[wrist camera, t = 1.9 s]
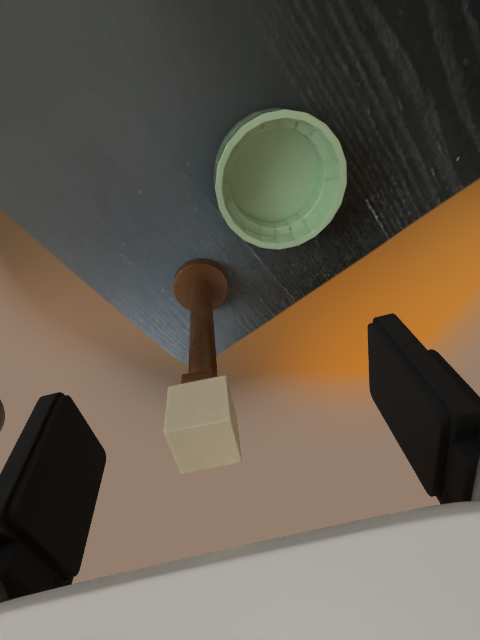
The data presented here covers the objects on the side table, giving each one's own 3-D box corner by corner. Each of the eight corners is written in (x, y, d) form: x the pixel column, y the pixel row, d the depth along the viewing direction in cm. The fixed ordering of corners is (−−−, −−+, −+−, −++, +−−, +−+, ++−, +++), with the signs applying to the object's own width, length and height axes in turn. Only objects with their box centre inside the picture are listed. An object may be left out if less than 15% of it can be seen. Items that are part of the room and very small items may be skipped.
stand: (181, 310, 44) (173, 438, 28) (168, 264, 40) (148, 378, 24) (231, 300, 44) (251, 422, 28) (221, 253, 40) (238, 360, 24)
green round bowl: (225, 241, 40) (229, 259, 36) (201, 121, 34) (202, 126, 29) (331, 220, 40) (347, 235, 35) (326, 96, 34) (345, 96, 29)
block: (182, 426, 27) (180, 474, 24) (167, 386, 25) (163, 432, 22) (236, 415, 27) (242, 462, 24) (225, 374, 25) (230, 419, 22)
